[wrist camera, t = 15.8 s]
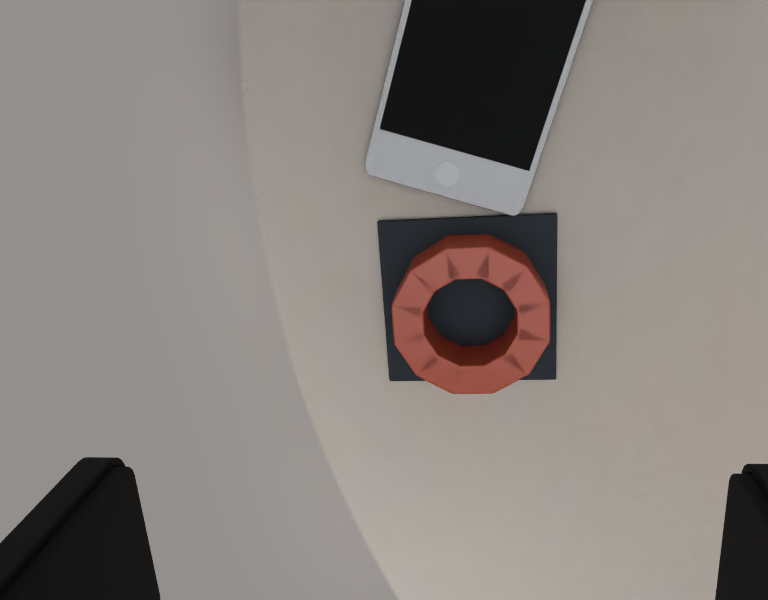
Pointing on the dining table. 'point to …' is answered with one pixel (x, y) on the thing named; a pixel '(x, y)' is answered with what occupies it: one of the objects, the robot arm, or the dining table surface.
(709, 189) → the dining table surface
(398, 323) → the ring
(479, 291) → the coaster
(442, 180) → the smartphone
